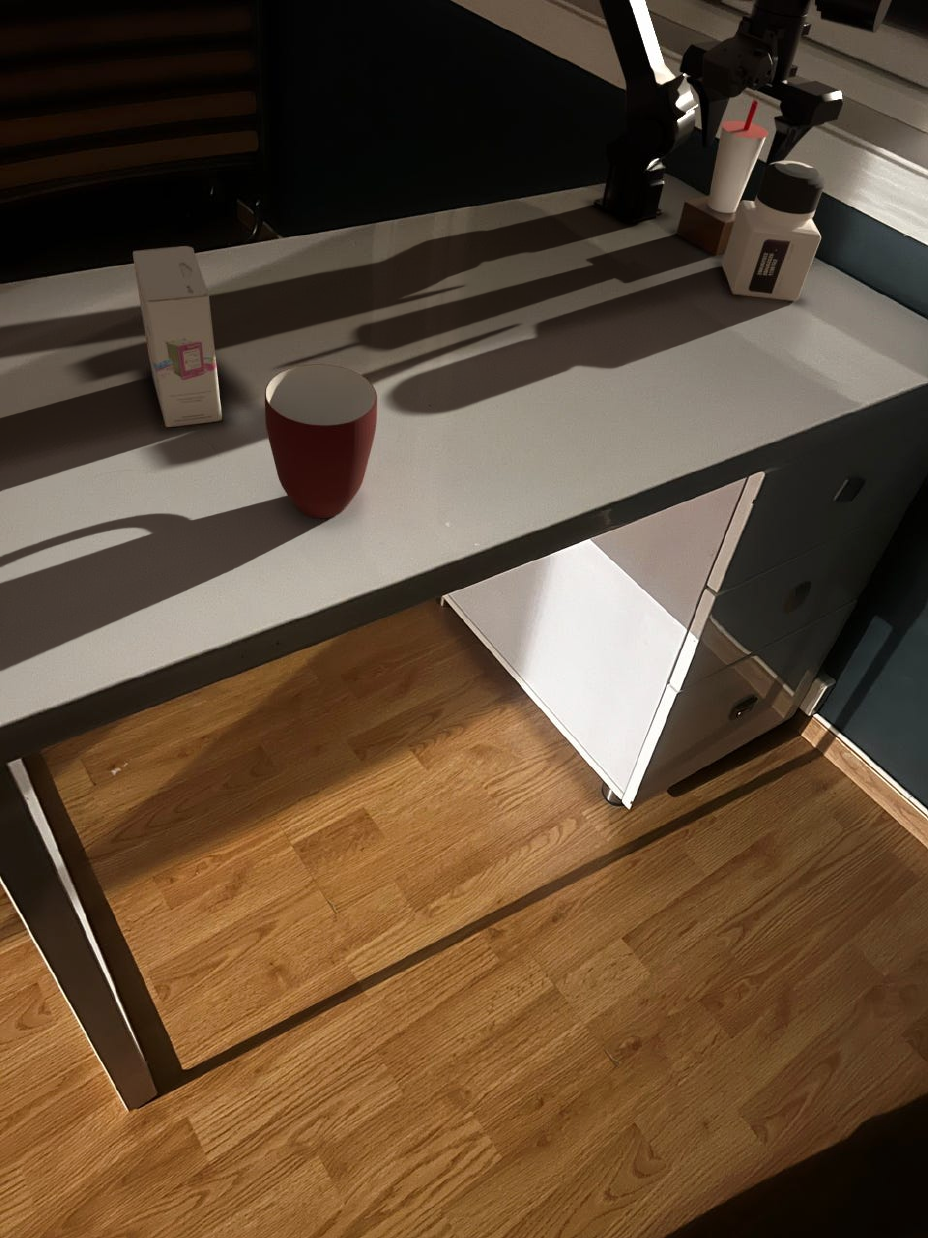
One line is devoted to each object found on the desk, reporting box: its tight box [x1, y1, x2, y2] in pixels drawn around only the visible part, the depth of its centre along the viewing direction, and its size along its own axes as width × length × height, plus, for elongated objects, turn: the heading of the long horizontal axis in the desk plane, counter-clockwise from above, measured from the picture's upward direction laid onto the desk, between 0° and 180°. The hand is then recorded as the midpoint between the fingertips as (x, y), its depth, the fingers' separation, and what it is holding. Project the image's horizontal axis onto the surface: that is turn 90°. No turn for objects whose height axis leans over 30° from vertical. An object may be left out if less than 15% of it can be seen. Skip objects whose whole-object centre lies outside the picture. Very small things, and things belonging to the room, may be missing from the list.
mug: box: [264, 363, 378, 519], centre depth 74 cm, size 10×8×10 cm
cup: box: [708, 99, 769, 213], centre depth 113 cm, size 5×5×12 cm
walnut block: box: [675, 194, 740, 256], centre depth 119 cm, size 6×6×4 cm
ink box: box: [132, 245, 223, 428], centre depth 81 cm, size 9×5×12 cm, turn 21°
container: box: [721, 160, 826, 302], centre depth 109 cm, size 8×8×13 cm
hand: (735, 161), depth 114 cm, fingers open, 9 cm apart
